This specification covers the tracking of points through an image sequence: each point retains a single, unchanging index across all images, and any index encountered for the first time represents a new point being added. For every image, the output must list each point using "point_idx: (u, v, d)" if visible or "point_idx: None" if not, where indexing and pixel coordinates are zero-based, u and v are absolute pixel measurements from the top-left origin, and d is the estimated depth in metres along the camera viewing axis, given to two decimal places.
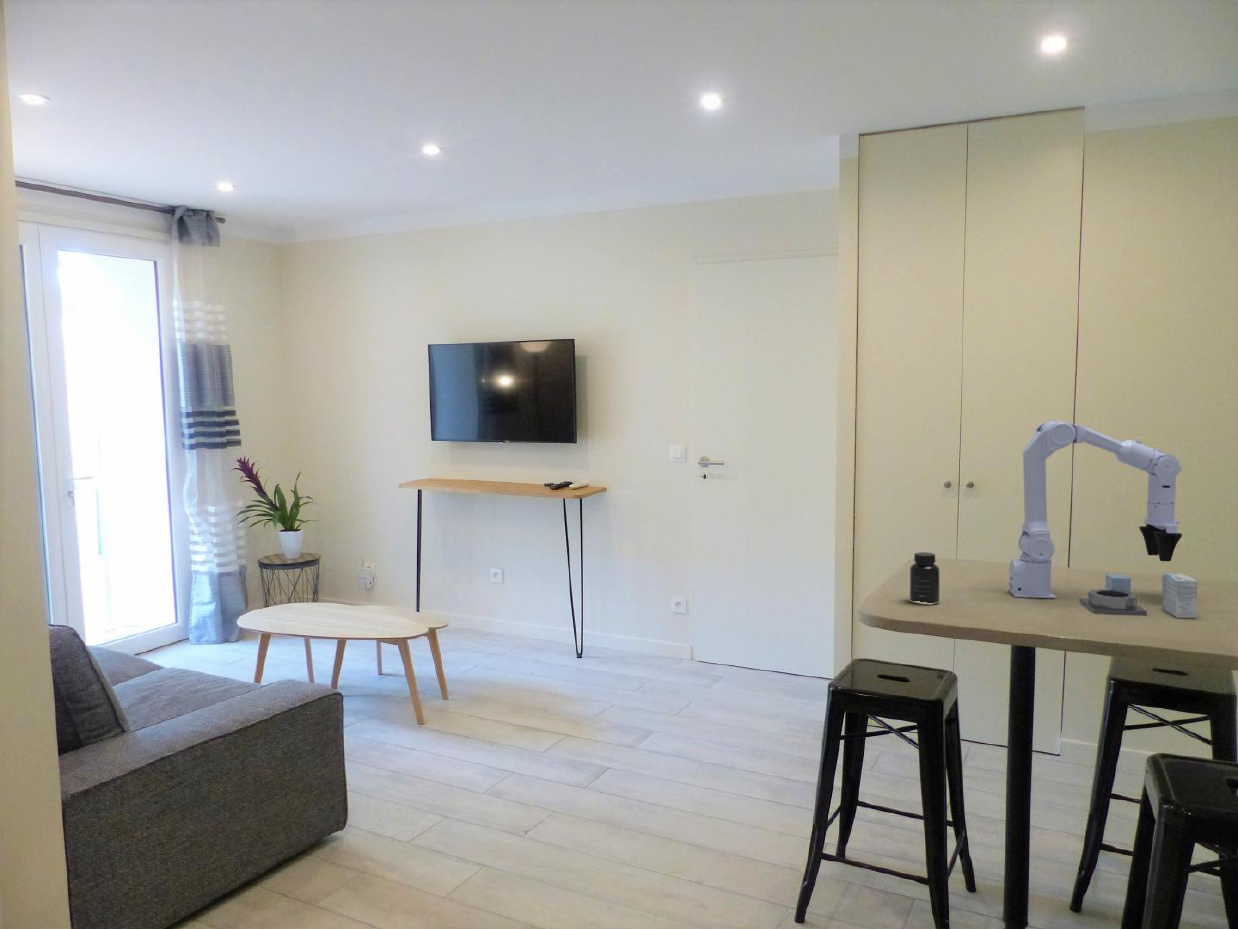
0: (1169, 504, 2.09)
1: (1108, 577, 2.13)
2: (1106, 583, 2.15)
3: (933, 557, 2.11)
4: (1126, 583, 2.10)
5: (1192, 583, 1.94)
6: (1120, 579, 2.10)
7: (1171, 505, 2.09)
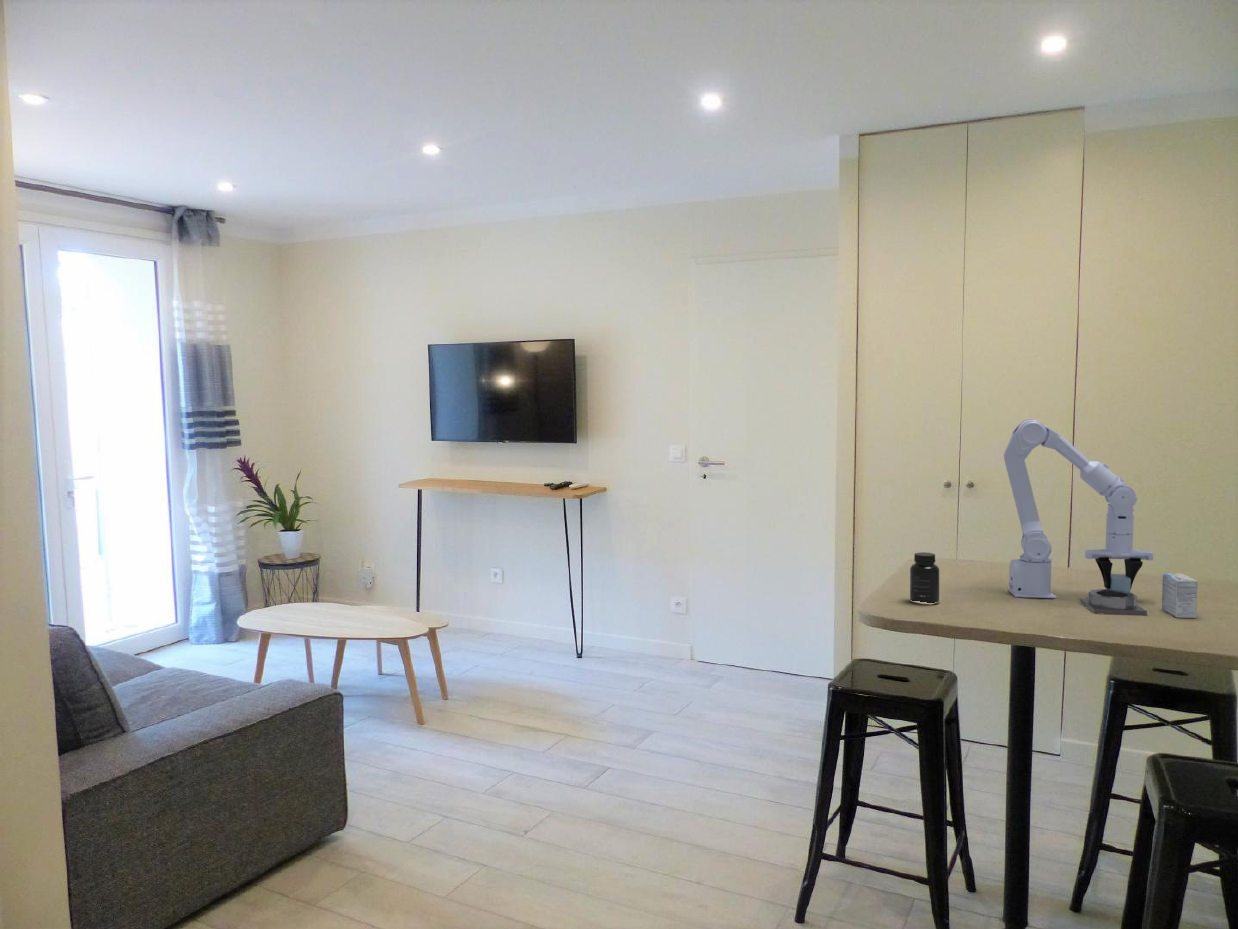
0: (1108, 533, 2.11)
1: None
2: None
3: (933, 557, 2.11)
4: (1126, 582, 2.10)
5: (1192, 583, 1.94)
6: (1120, 579, 2.10)
7: (1110, 535, 2.10)
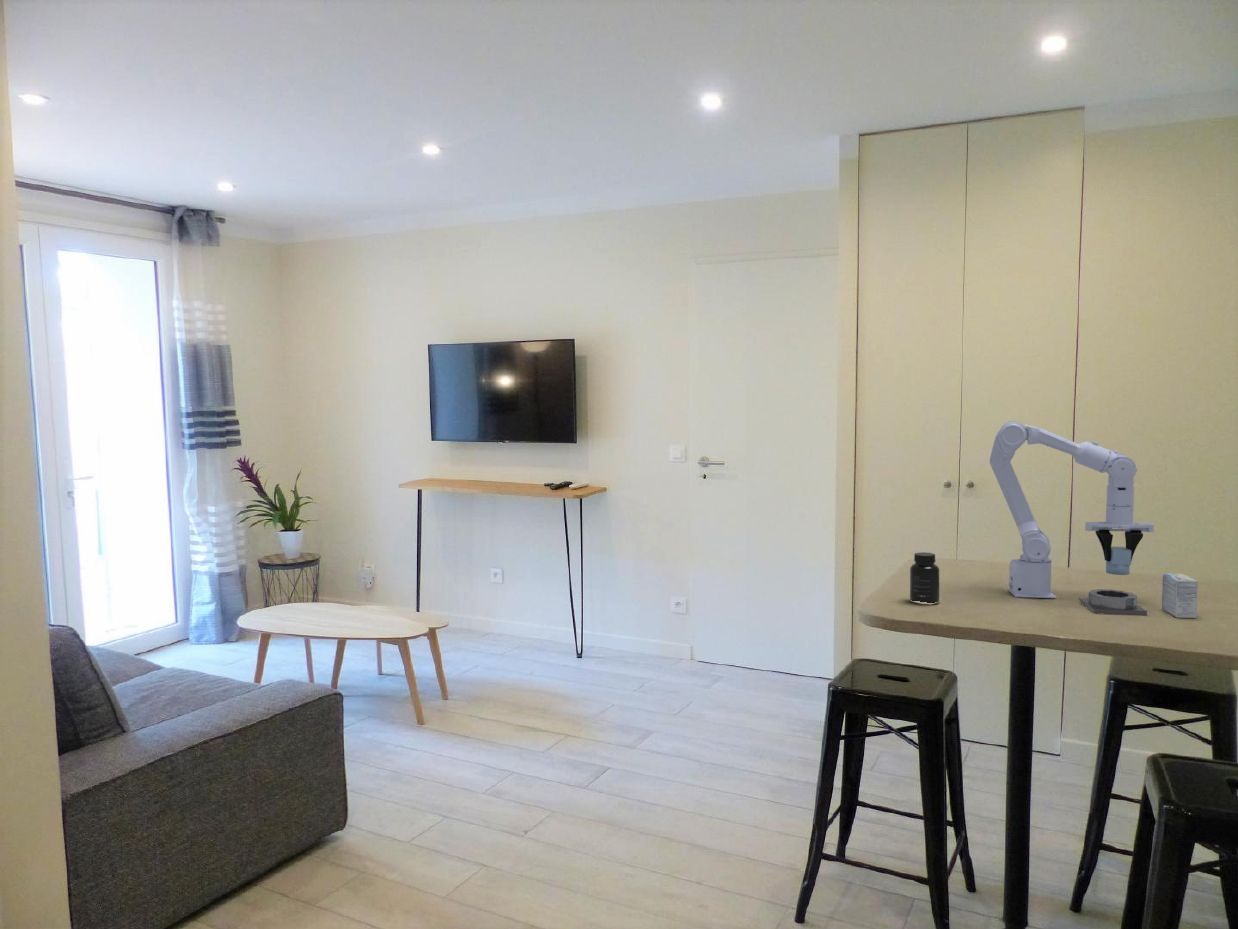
0: (1108, 505, 2.10)
1: None
2: None
3: (933, 557, 2.11)
4: (1126, 554, 2.08)
5: (1192, 583, 1.94)
6: (1121, 551, 2.08)
7: (1110, 507, 2.09)
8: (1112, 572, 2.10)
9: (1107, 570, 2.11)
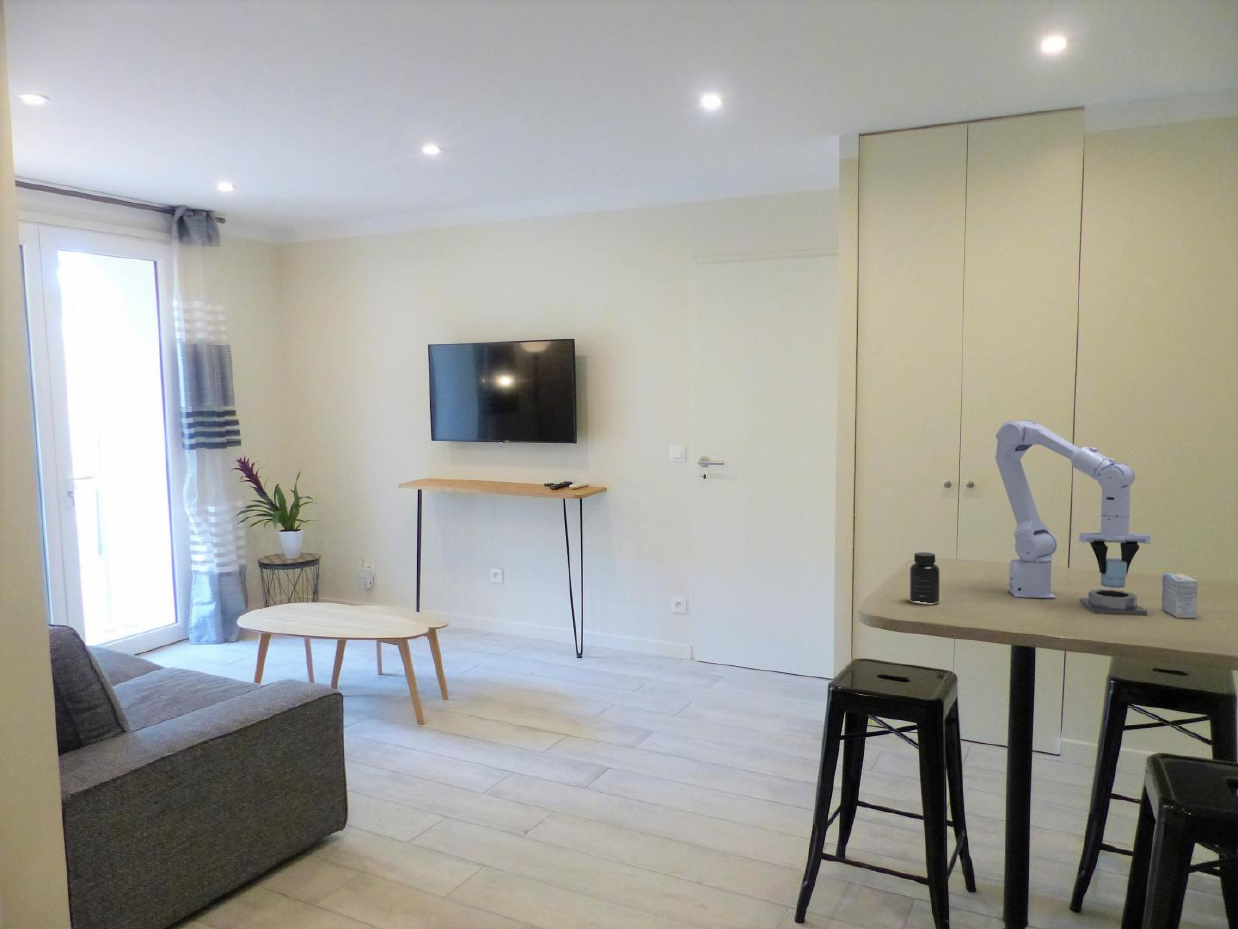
0: (1103, 516, 2.03)
1: None
2: None
3: (933, 557, 2.11)
4: (1122, 567, 2.01)
5: (1192, 583, 1.94)
6: (1116, 563, 2.01)
7: (1105, 517, 2.02)
8: (1107, 585, 2.03)
9: (1102, 583, 2.04)
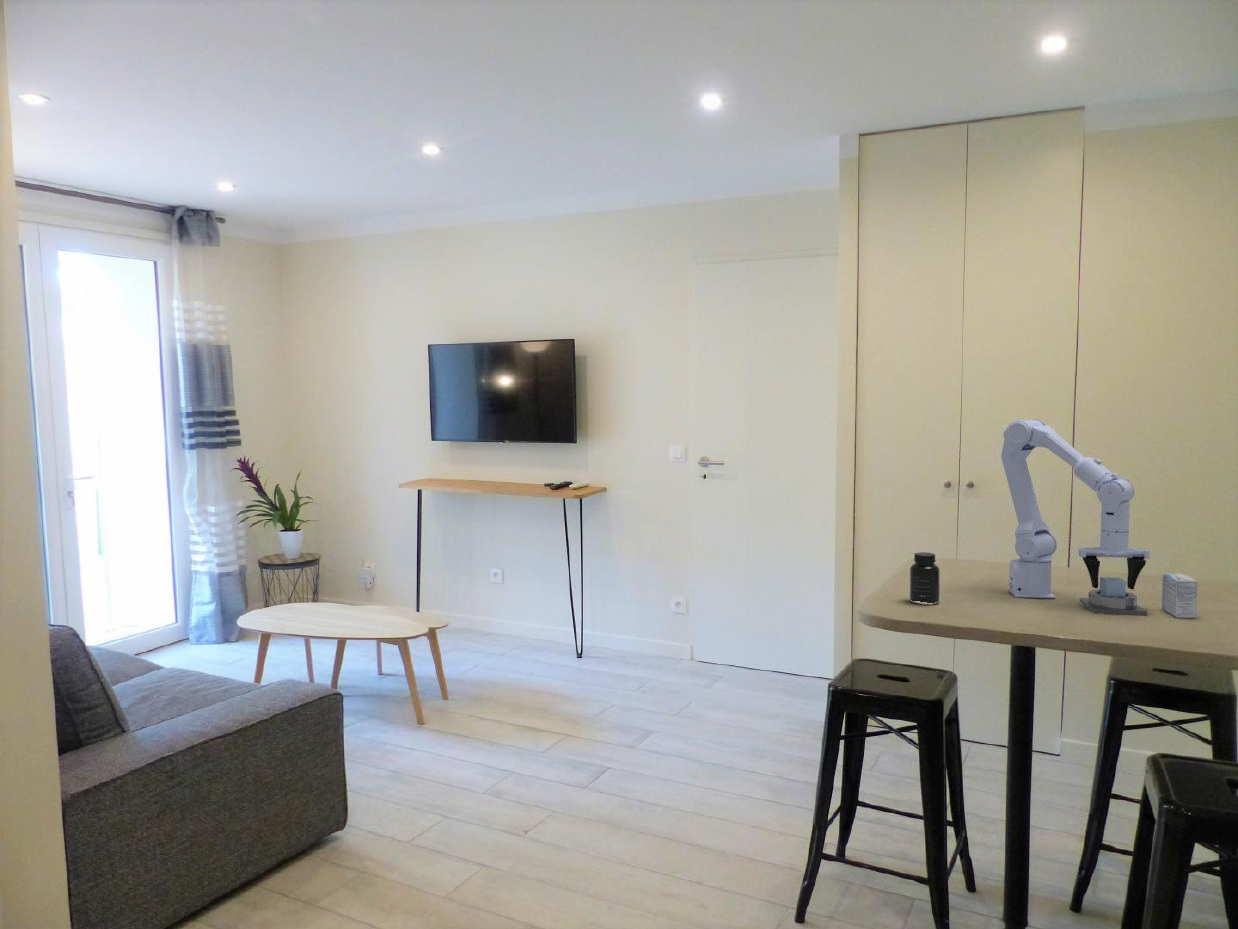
0: (1103, 531, 2.03)
1: (1102, 580, 2.05)
2: (1100, 586, 2.07)
3: (933, 557, 2.11)
4: (1121, 586, 2.02)
5: (1192, 583, 1.94)
6: (1115, 582, 2.02)
7: (1104, 532, 2.02)
8: None
9: None
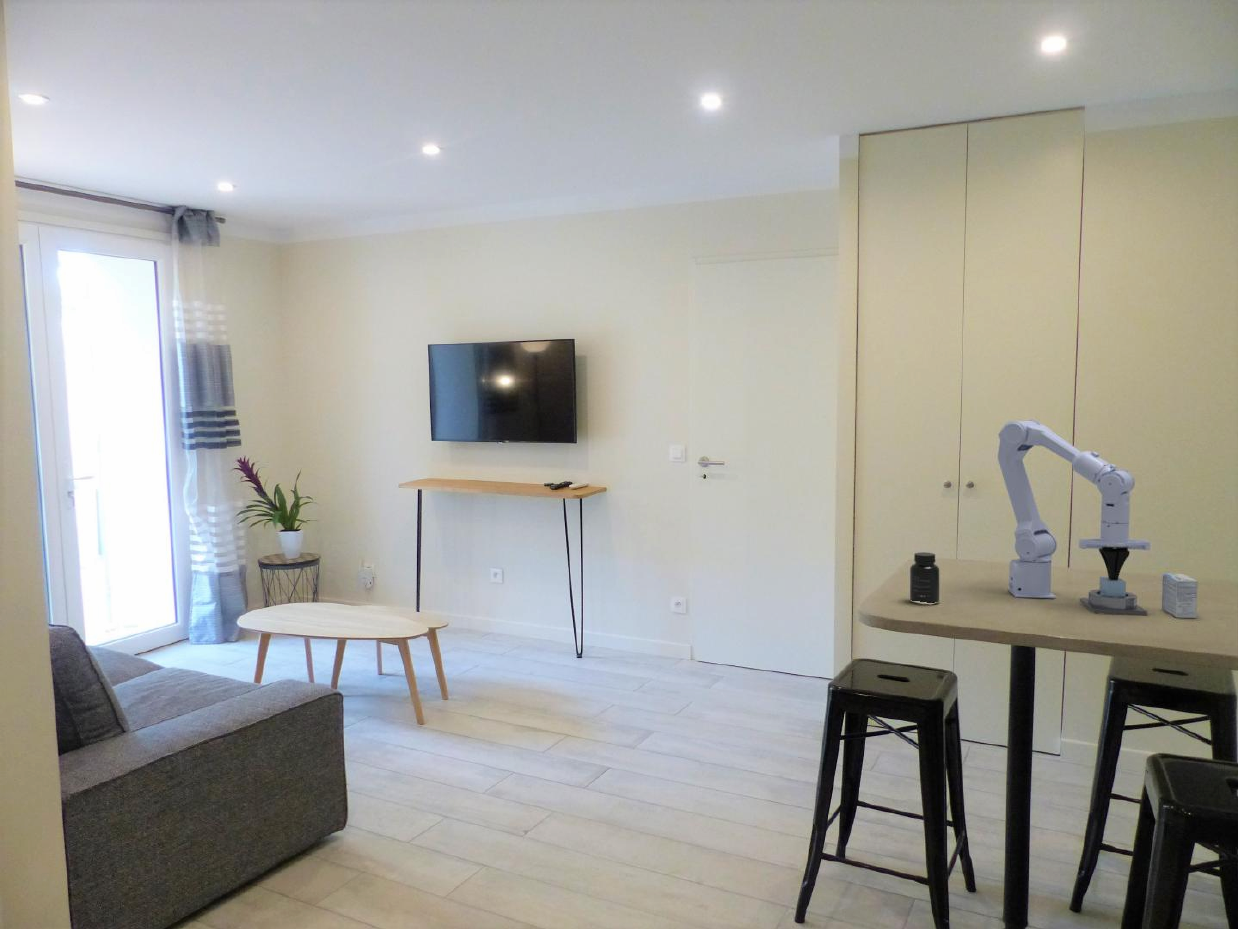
0: (1103, 522, 2.03)
1: (1102, 580, 2.05)
2: (1100, 586, 2.07)
3: (933, 557, 2.11)
4: (1121, 586, 2.02)
5: (1192, 583, 1.94)
6: (1115, 582, 2.02)
7: (1105, 524, 2.02)
8: None
9: None
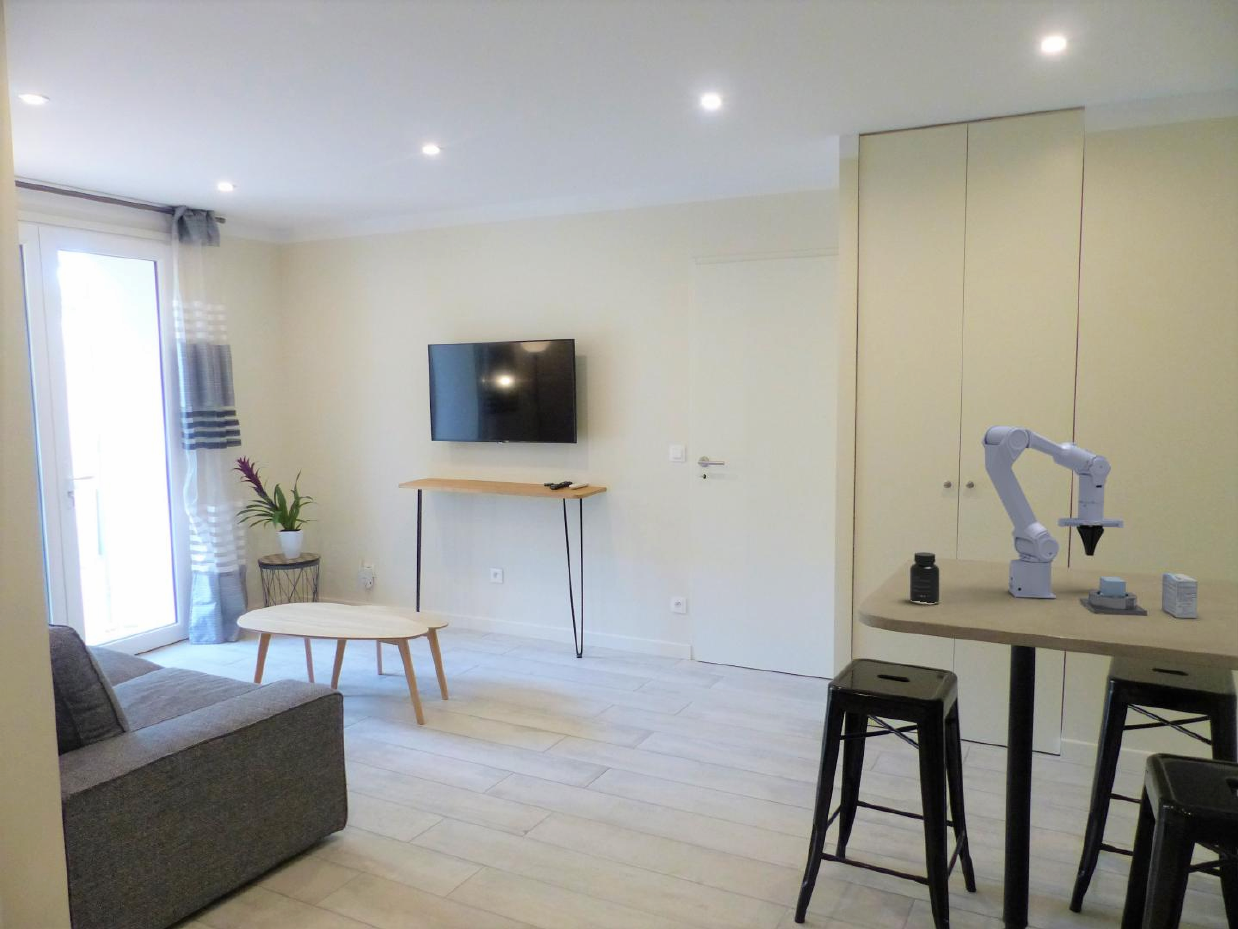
0: (1080, 502, 2.20)
1: (1102, 580, 2.05)
2: (1100, 586, 2.07)
3: (933, 557, 2.11)
4: (1121, 586, 2.02)
5: (1192, 583, 1.94)
6: (1115, 582, 2.02)
7: (1081, 503, 2.19)
8: None
9: None
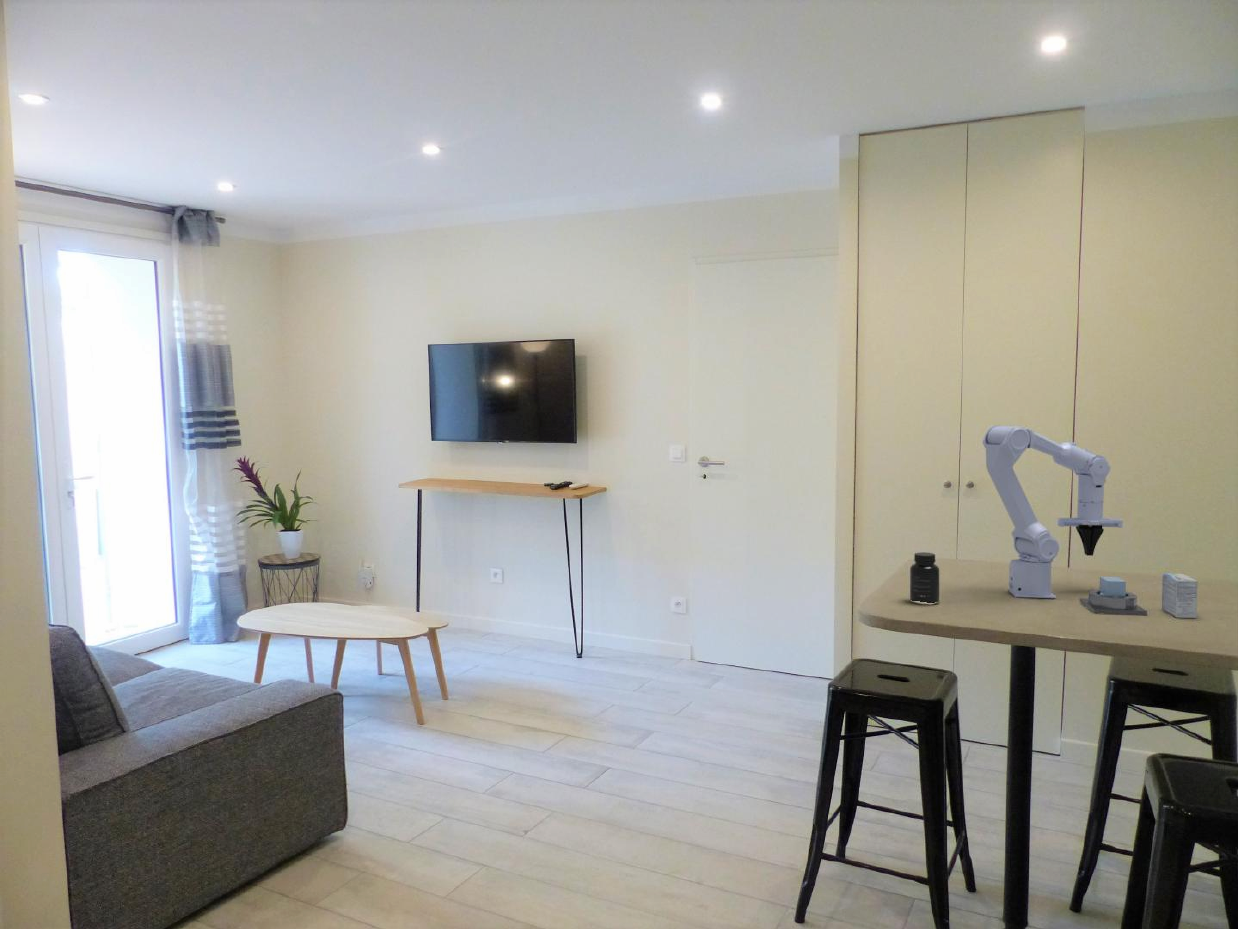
0: (1079, 502, 2.20)
1: (1102, 580, 2.05)
2: (1100, 586, 2.07)
3: (933, 557, 2.11)
4: (1121, 586, 2.02)
5: (1192, 583, 1.94)
6: (1115, 582, 2.02)
7: (1081, 503, 2.20)
8: None
9: None
